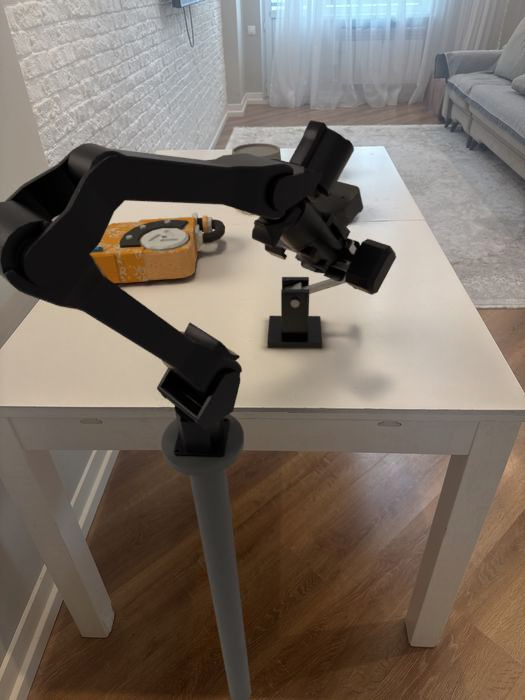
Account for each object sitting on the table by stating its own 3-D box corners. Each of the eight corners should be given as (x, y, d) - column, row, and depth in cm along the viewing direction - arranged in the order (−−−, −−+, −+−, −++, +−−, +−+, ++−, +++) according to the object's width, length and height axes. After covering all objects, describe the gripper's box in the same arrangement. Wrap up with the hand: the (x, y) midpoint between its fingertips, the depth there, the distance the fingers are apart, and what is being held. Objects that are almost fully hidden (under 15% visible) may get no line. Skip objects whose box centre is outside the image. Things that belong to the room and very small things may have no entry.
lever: (360, 271, 80) (356, 258, 78) (364, 289, 75) (360, 276, 73) (289, 293, 83) (284, 281, 81) (289, 312, 78) (284, 300, 77)
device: (91, 209, 111) (223, 202, 112) (100, 243, 116) (226, 236, 117) (65, 253, 93) (223, 245, 94) (77, 291, 98) (226, 283, 99)
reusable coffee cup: (232, 217, 126) (227, 157, 117) (237, 199, 136) (233, 143, 127) (280, 217, 125) (280, 156, 116) (282, 199, 135) (282, 142, 126)
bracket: (320, 321, 87) (322, 272, 81) (321, 348, 81) (324, 297, 75) (269, 321, 88) (268, 272, 82) (267, 348, 81) (265, 297, 75)
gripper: (398, 184, 55) (430, 242, 68) (276, 154, 66) (323, 210, 78) (351, 272, 55) (392, 313, 68) (237, 229, 66) (291, 272, 79)
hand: (347, 273), depth 73 cm, fingers closed
